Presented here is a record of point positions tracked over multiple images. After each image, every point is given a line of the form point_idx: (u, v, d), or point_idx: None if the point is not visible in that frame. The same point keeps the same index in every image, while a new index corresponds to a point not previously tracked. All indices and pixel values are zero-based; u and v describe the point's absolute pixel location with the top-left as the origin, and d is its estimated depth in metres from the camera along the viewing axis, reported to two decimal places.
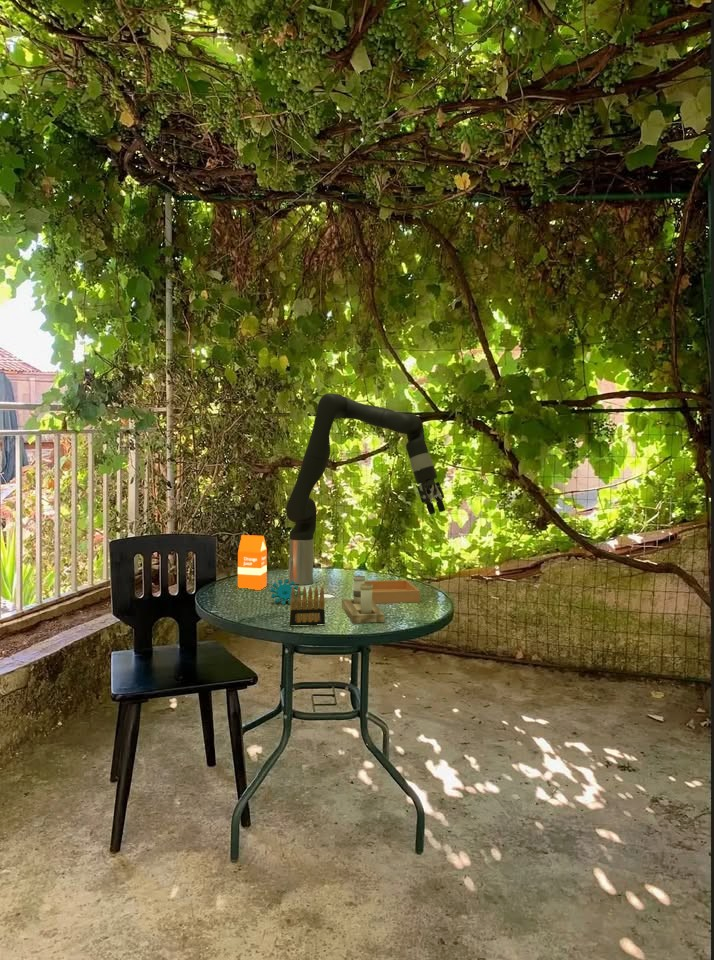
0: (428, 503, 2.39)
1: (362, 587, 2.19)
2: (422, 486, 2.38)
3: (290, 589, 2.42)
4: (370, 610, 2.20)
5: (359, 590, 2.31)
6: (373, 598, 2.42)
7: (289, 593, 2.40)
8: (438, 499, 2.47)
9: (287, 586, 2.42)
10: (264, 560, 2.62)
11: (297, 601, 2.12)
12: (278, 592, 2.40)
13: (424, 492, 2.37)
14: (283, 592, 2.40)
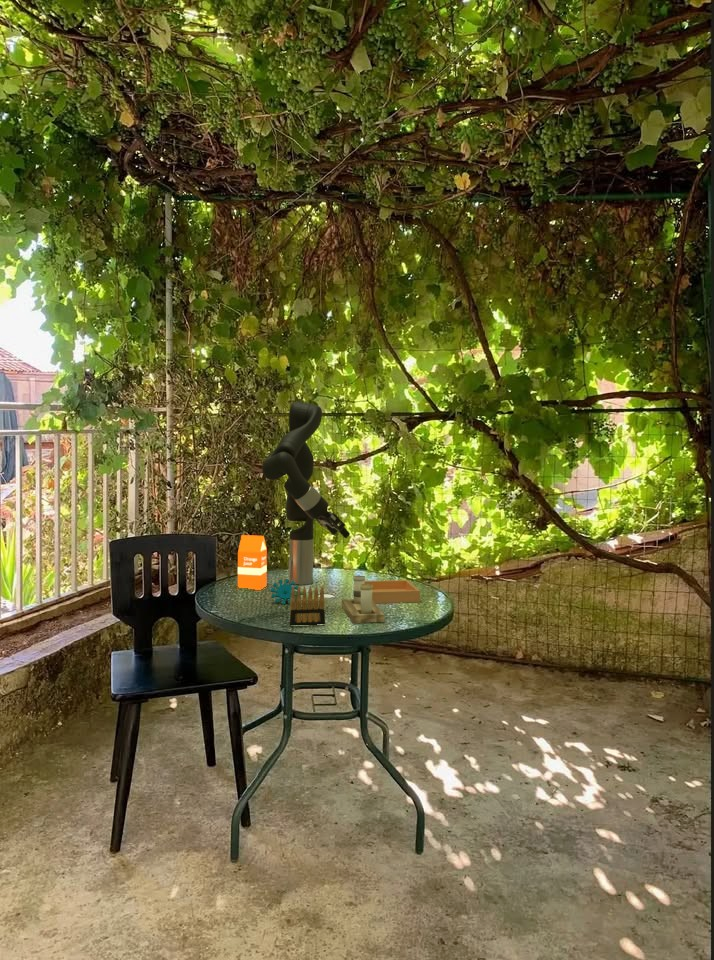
0: None
1: (362, 587, 2.19)
2: None
3: (290, 589, 2.42)
4: (370, 610, 2.20)
5: (359, 590, 2.31)
6: (373, 598, 2.42)
7: (289, 593, 2.41)
8: None
9: (287, 586, 2.42)
10: (264, 560, 2.62)
11: (297, 601, 2.12)
12: (278, 592, 2.40)
13: None
14: (283, 592, 2.40)
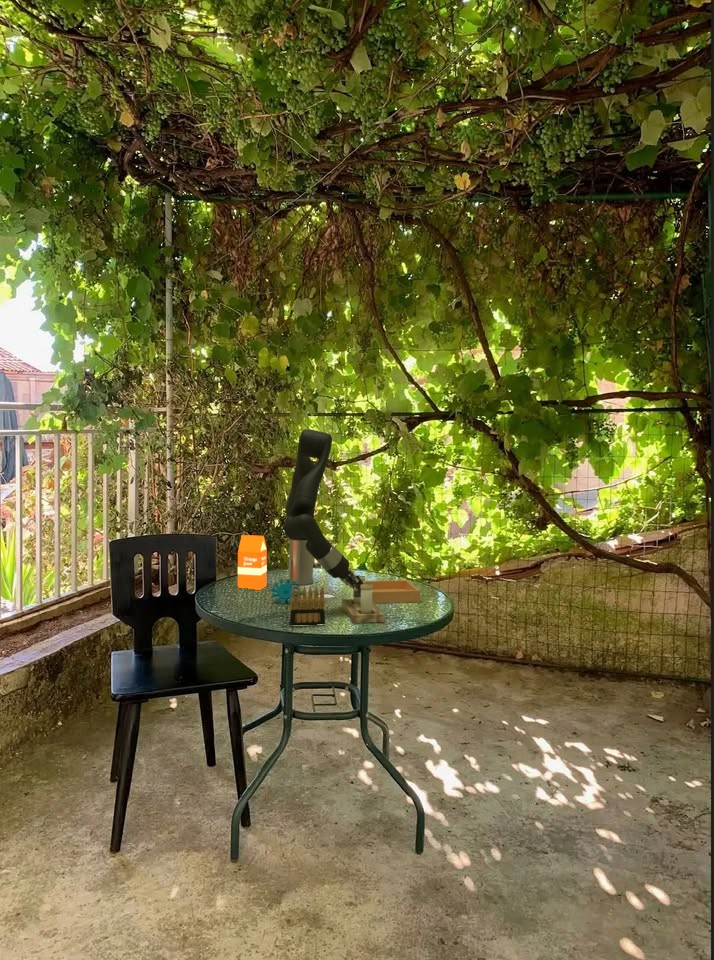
0: None
1: (362, 587, 2.19)
2: None
3: (291, 589, 2.42)
4: (370, 610, 2.20)
5: None
6: (373, 598, 2.42)
7: (289, 593, 2.41)
8: None
9: (288, 586, 2.43)
10: (264, 560, 2.62)
11: (297, 601, 2.12)
12: (278, 591, 2.41)
13: None
14: (283, 592, 2.41)
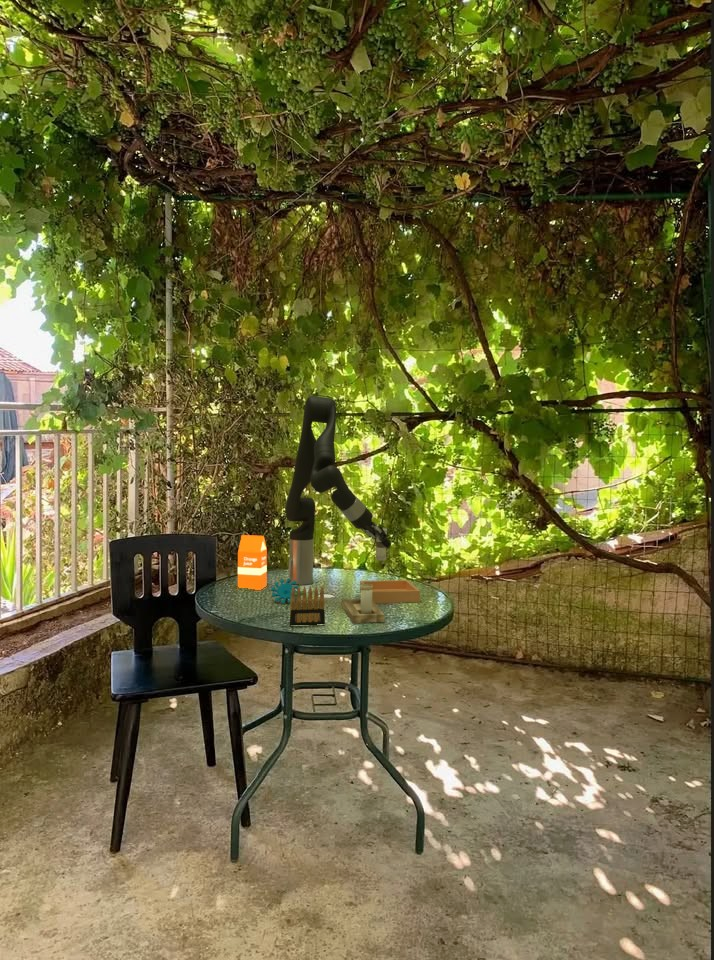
0: None
1: (362, 587, 2.19)
2: None
3: (291, 589, 2.42)
4: (370, 610, 2.20)
5: None
6: (373, 598, 2.42)
7: (289, 592, 2.41)
8: None
9: (288, 585, 2.43)
10: (264, 560, 2.62)
11: (297, 601, 2.12)
12: (279, 591, 2.41)
13: None
14: (283, 591, 2.41)
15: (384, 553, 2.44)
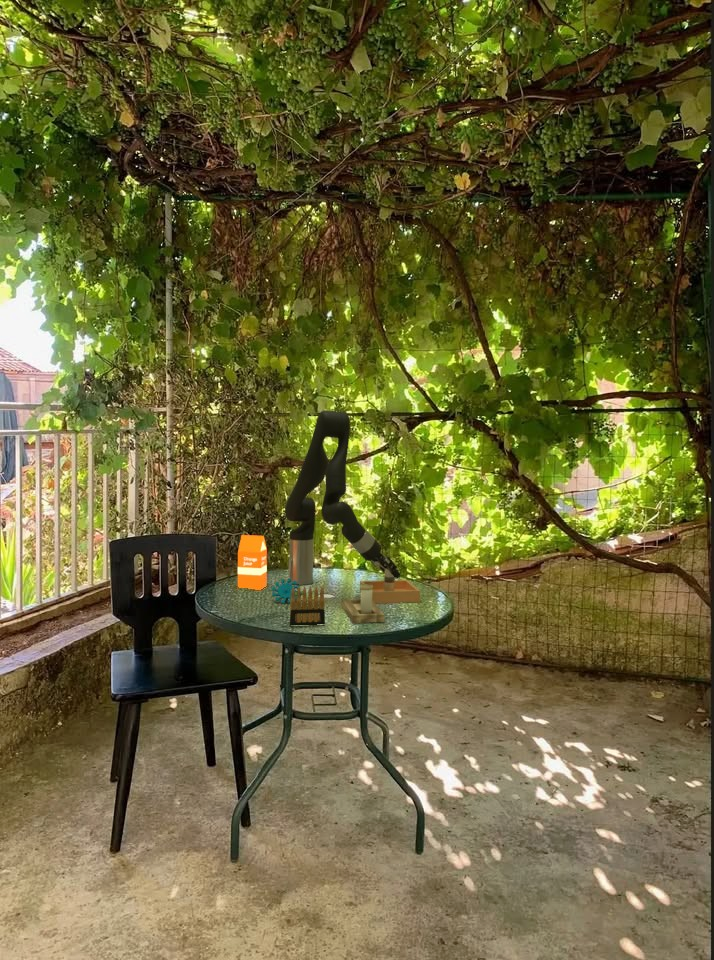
0: None
1: (362, 587, 2.19)
2: None
3: (291, 588, 2.43)
4: (370, 610, 2.20)
5: (390, 576, 2.50)
6: (373, 598, 2.42)
7: (290, 592, 2.42)
8: None
9: (289, 585, 2.43)
10: (264, 560, 2.62)
11: (297, 601, 2.12)
12: (279, 591, 2.42)
13: None
14: (284, 591, 2.42)
15: (392, 588, 2.50)
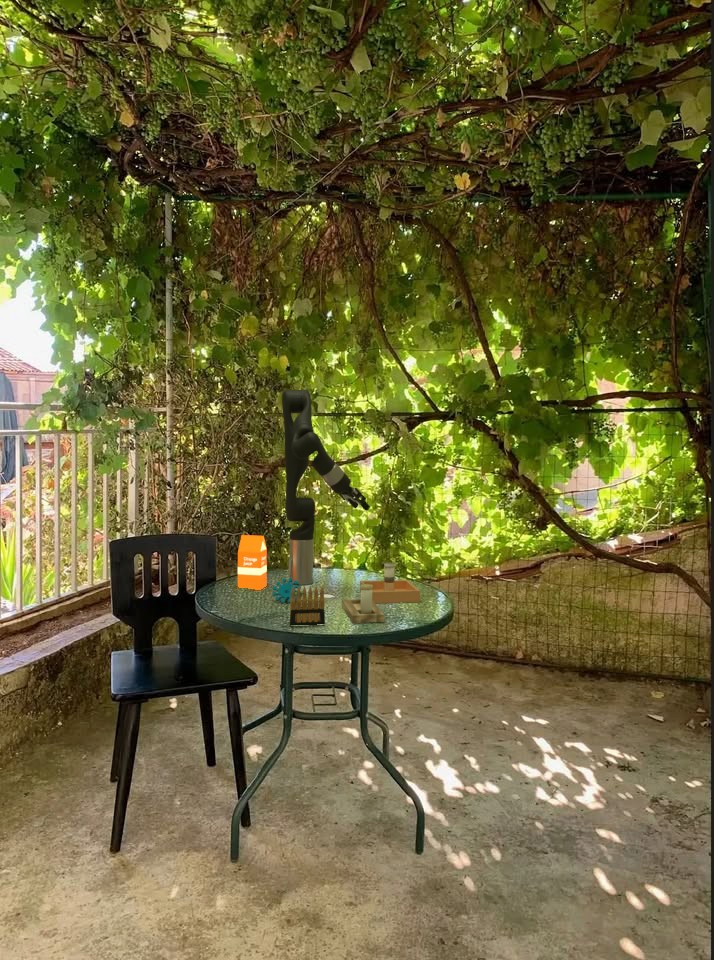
0: None
1: (362, 587, 2.19)
2: None
3: None
4: (370, 610, 2.20)
5: (390, 576, 2.50)
6: (373, 598, 2.42)
7: (290, 592, 2.42)
8: None
9: (289, 585, 2.44)
10: (264, 560, 2.62)
11: (297, 601, 2.12)
12: (280, 590, 2.42)
13: None
14: (284, 591, 2.42)
15: (392, 588, 2.50)
